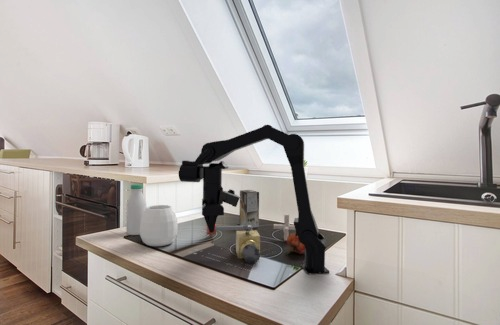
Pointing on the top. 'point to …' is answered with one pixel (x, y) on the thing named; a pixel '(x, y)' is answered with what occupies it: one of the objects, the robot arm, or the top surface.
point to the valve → (248, 245)
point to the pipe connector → (285, 226)
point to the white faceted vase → (158, 225)
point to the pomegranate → (295, 244)
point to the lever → (230, 228)
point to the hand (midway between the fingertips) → (211, 232)
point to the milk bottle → (135, 209)
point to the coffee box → (249, 208)
